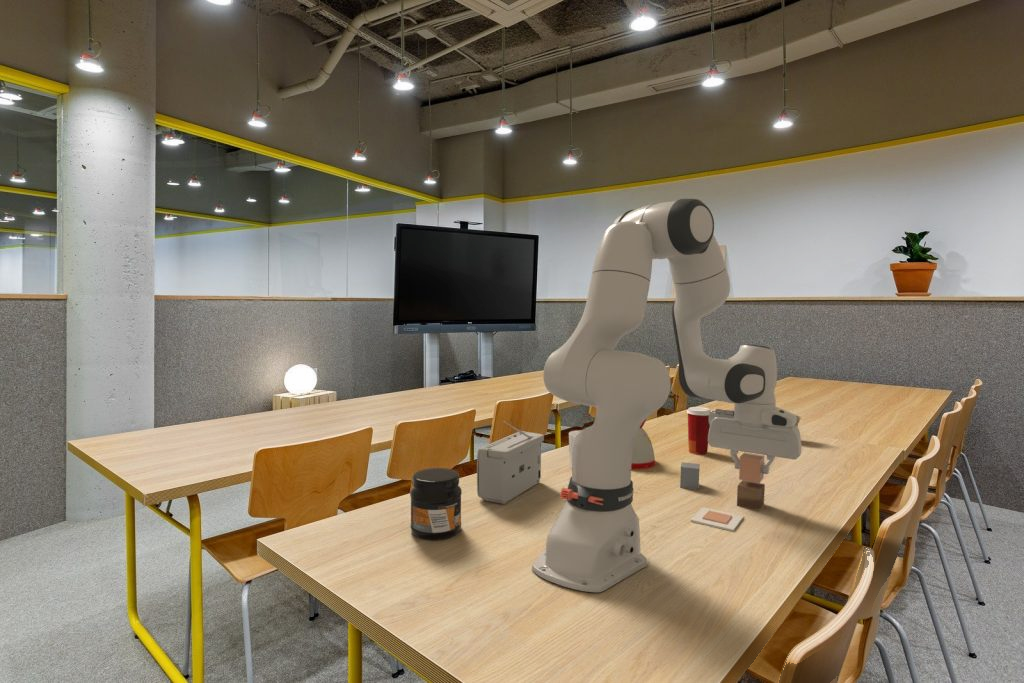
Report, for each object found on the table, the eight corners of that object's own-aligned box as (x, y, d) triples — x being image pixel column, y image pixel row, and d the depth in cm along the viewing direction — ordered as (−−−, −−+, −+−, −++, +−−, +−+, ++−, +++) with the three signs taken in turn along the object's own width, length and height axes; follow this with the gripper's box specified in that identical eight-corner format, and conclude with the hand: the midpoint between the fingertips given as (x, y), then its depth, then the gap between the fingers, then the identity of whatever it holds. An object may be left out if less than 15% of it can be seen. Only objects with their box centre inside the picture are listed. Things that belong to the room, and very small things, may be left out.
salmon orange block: (759, 483, 129) (760, 459, 129) (739, 479, 132) (740, 456, 131) (763, 478, 133) (764, 455, 132) (743, 474, 135) (744, 452, 135)
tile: (733, 531, 117) (733, 528, 117) (690, 521, 122) (690, 518, 122) (743, 517, 125) (743, 514, 125) (702, 508, 130) (702, 506, 130)
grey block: (698, 489, 143) (699, 468, 143) (680, 487, 144) (680, 466, 144) (698, 484, 147) (699, 463, 147) (681, 482, 149) (681, 462, 148)
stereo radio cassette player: (518, 477, 152) (518, 404, 150) (545, 482, 147) (546, 407, 146) (475, 501, 133) (475, 418, 132) (504, 507, 129) (505, 422, 128)
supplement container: (441, 546, 109) (441, 486, 108) (399, 534, 114) (399, 477, 113) (471, 527, 118) (471, 471, 117) (431, 517, 123) (431, 464, 122)
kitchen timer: (646, 472, 157) (648, 419, 156) (600, 464, 164) (601, 414, 163) (659, 459, 169) (661, 411, 168) (616, 453, 176) (617, 406, 175)
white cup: (594, 472, 156) (595, 437, 155) (566, 470, 157) (567, 436, 157) (596, 464, 164) (597, 431, 163) (569, 462, 165) (570, 429, 164)
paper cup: (713, 451, 179) (714, 408, 178) (707, 456, 173) (709, 412, 172) (688, 447, 184) (690, 405, 182) (681, 452, 177) (683, 409, 176)
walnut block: (759, 510, 129) (760, 489, 129) (736, 506, 132) (737, 485, 132) (763, 504, 133) (764, 484, 133) (741, 499, 136) (742, 479, 136)
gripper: (705, 409, 134) (703, 466, 135) (800, 421, 123) (797, 482, 124) (712, 405, 139) (710, 460, 141) (804, 416, 128) (801, 475, 129)
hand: (751, 470), depth 132 cm, fingers closed on salmon orange block, 4 cm apart
